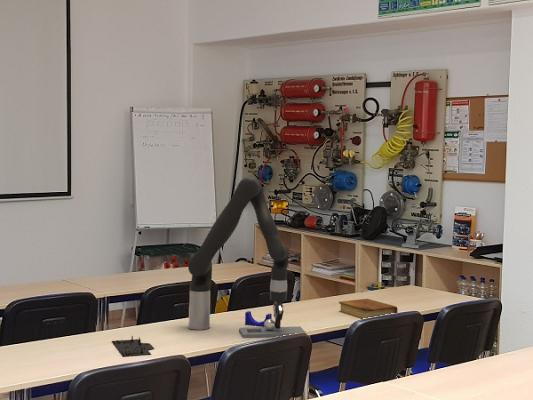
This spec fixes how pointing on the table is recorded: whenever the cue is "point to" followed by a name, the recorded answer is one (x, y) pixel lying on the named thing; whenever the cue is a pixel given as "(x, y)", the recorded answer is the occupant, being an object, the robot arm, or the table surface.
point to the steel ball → (269, 324)
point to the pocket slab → (269, 332)
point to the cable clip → (252, 322)
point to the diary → (366, 308)
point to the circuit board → (132, 347)
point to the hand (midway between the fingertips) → (277, 328)
